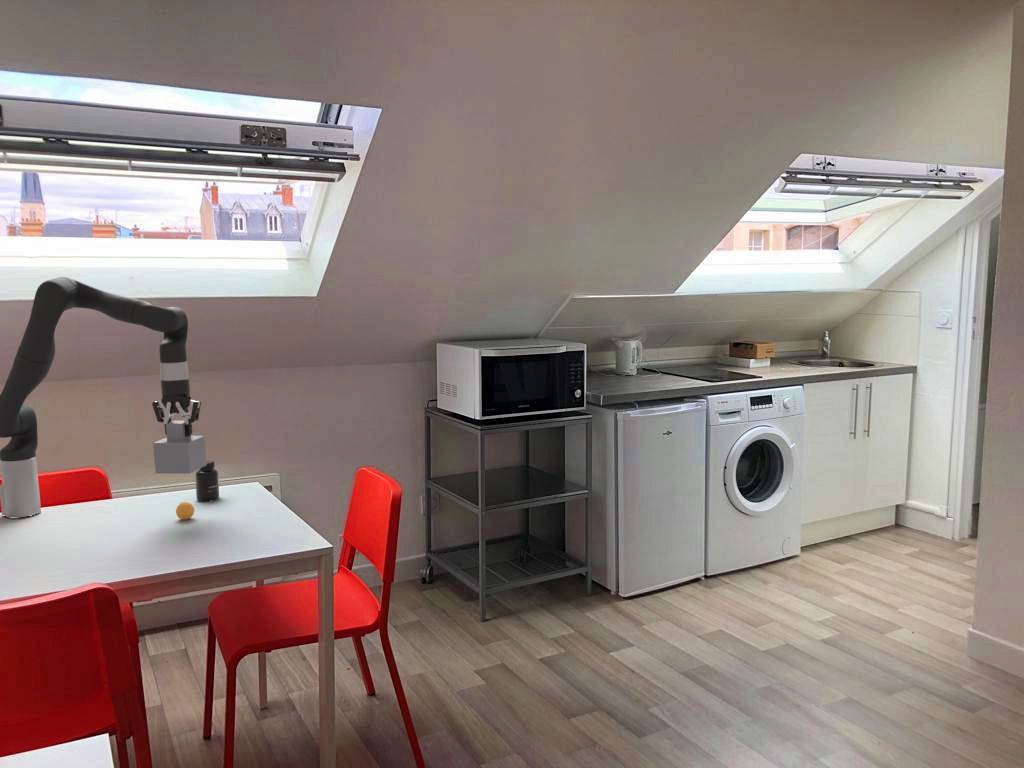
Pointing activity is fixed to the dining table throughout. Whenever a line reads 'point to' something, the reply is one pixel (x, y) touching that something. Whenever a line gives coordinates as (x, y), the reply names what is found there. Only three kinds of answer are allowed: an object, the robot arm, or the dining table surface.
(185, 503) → the ball
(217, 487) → the supplement bottle
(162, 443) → the stepped grey block
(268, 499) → the dining table surface
